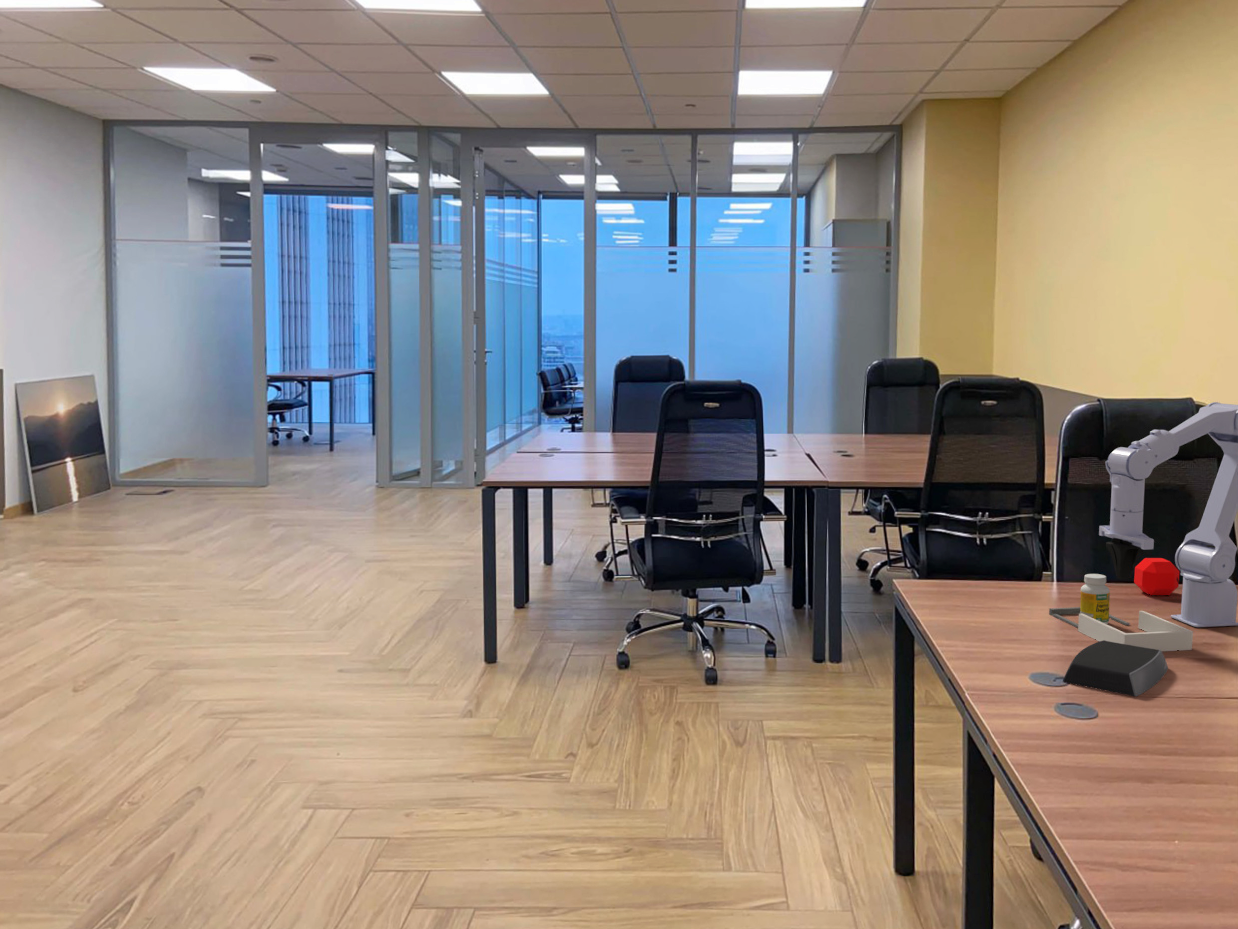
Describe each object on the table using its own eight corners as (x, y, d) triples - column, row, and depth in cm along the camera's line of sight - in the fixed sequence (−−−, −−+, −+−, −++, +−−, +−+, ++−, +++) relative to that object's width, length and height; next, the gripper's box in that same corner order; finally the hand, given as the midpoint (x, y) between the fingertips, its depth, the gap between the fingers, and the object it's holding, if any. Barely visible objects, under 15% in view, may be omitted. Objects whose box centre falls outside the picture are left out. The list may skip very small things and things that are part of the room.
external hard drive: (1172, 671, 190) (1174, 649, 190) (1140, 700, 175) (1141, 676, 175) (1094, 657, 198) (1095, 635, 198) (1057, 684, 184) (1058, 660, 183)
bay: (1141, 628, 215) (1142, 610, 215) (1191, 649, 201) (1193, 631, 201) (1078, 631, 213) (1078, 613, 213) (1123, 653, 199) (1124, 634, 198)
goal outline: (1099, 611, 228) (1099, 606, 227) (1129, 625, 217) (1129, 619, 217) (1049, 614, 226) (1049, 608, 226) (1077, 627, 216) (1077, 621, 216)
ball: (1182, 598, 239) (1184, 563, 238) (1145, 598, 239) (1147, 563, 238) (1165, 589, 247) (1167, 556, 246) (1129, 589, 247) (1131, 556, 246)
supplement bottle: (1092, 617, 223) (1093, 571, 222) (1115, 623, 218) (1116, 576, 217) (1073, 621, 220) (1075, 575, 219) (1096, 627, 216) (1097, 580, 215)
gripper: (1086, 504, 217) (1083, 571, 219) (1130, 517, 203) (1127, 588, 205) (1118, 503, 218) (1115, 569, 220) (1165, 515, 204) (1161, 586, 206)
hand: (1123, 578), depth 213 cm, fingers closed
